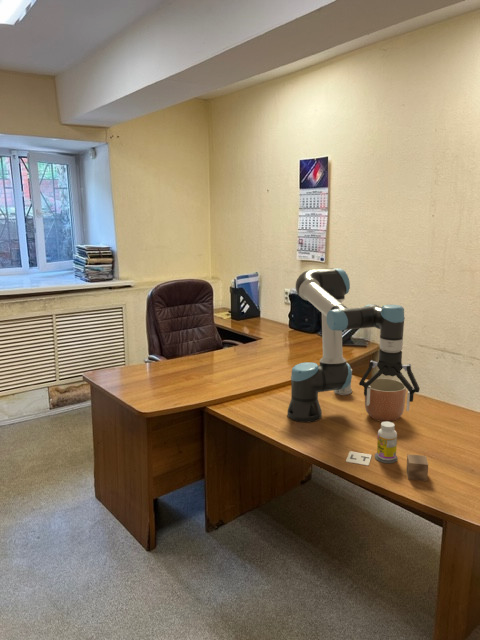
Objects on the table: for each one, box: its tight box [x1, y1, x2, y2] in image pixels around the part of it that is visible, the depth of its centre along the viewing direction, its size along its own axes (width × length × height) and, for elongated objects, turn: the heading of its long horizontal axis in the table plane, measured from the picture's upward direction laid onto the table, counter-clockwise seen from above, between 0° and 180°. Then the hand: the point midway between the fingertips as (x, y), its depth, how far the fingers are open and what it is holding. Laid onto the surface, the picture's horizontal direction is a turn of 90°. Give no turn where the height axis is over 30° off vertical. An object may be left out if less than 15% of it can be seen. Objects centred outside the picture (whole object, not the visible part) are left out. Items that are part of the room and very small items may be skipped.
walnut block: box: [406, 454, 429, 482], centre depth 158 cm, size 6×6×6 cm
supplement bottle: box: [376, 421, 398, 461], centre depth 169 cm, size 7×7×13 cm
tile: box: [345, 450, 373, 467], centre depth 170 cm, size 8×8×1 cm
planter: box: [364, 377, 407, 423], centre depth 203 cm, size 17×17×15 cm
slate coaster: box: [374, 452, 398, 464], centre depth 170 cm, size 8×8×1 cm
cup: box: [333, 368, 353, 396], centre depth 234 cm, size 10×9×12 cm
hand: (387, 406), depth 166 cm, fingers open, 13 cm apart
